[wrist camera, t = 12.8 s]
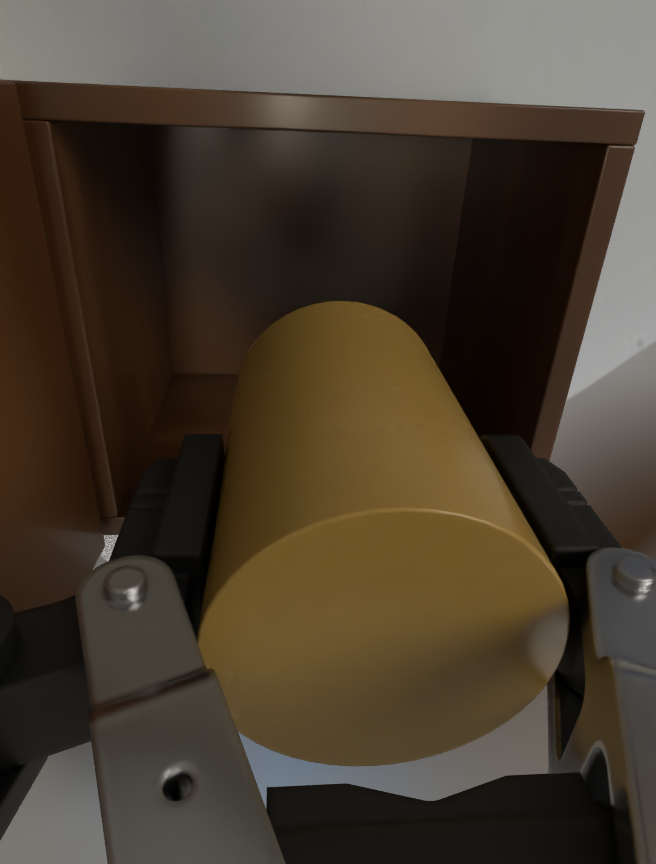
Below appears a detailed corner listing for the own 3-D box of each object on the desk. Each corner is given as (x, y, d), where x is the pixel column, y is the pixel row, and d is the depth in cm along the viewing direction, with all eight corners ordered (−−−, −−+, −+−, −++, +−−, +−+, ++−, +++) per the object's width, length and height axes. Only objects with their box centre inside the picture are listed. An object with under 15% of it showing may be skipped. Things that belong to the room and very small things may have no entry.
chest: (489, 104, 26) (646, 110, 15) (446, 382, 33) (531, 529, 22) (129, 87, 25) (6, 79, 14) (162, 380, 31) (97, 535, 20)
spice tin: (238, 482, 16) (207, 775, 9) (230, 298, 13) (179, 511, 7) (424, 481, 16) (527, 760, 10) (450, 302, 14) (618, 507, 7)
